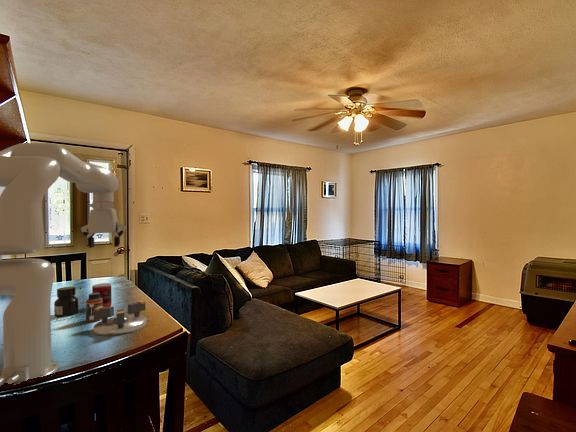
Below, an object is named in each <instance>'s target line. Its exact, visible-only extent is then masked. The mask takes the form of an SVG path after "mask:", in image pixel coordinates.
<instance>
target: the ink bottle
mask: <svg viewBox="0 0 576 432" xmlns="http://www.w3.org/2000/svg"><path fill="white" fill-rule="evenodd" d="M76 290H77V287H76V286H64V287H60V288H57V289H56V297H57V299H56V300H55V301H54V302H53V304H54V306H53V307H54V309H53V311H54V314H53V315H54V317H56V318H64V317H69V316H70V317H71V316H74V315H76V314H78V313H79V311H80V310H79V309H80V306H79V305H80V304H79V297H77V296H76Z"/></svg>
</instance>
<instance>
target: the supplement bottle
mask: <svg viewBox="0 0 576 432" xmlns="http://www.w3.org/2000/svg"><path fill="white" fill-rule="evenodd" d="M99 306H103V300H102V298H101V297H100V293H92V292H90V293H89V294H88V298H87V299H86V301H85V321H86V322H88V323H95V322H100V321H102V318H95V308H97V307H99Z"/></svg>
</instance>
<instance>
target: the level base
mask: <svg viewBox="0 0 576 432" xmlns="http://www.w3.org/2000/svg"><path fill="white" fill-rule="evenodd" d="M145 326H147V316H145V315H143V314H140V316H139V317H134V314H124V326H123V327H118V324H117V316H112V317H108V321H107V322H104V323H102V320H100V321H98V322H97V323H95V324H94V325H93V334H94V335H96V336H99V337H115V336H120V335H126V334H129V333H130V334H131V333H133V332H136V331H138V330H139V331H140V329H143V328H144V327H145Z"/></svg>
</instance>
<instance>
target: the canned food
mask: <svg viewBox="0 0 576 432" xmlns="http://www.w3.org/2000/svg"><path fill="white" fill-rule="evenodd" d="M91 287H92V288H91V290H92V291H91V293H100V297H101V298H102V300H103V307H112V300H113V299H112V296H113V295H112V283H111V282H103V283H96V284H93V285H91Z"/></svg>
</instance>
